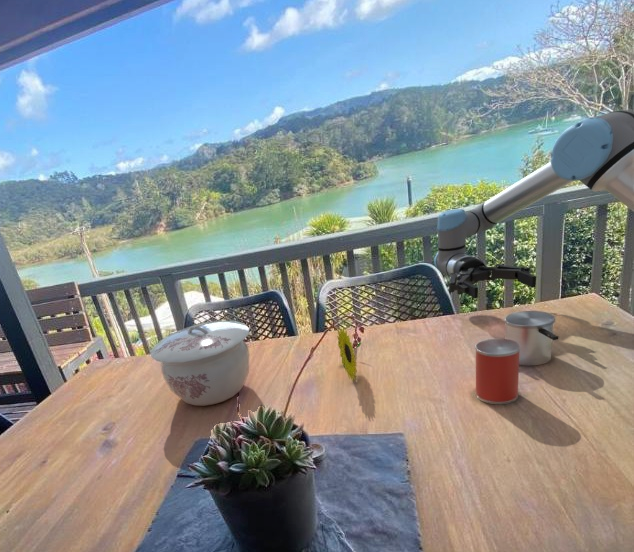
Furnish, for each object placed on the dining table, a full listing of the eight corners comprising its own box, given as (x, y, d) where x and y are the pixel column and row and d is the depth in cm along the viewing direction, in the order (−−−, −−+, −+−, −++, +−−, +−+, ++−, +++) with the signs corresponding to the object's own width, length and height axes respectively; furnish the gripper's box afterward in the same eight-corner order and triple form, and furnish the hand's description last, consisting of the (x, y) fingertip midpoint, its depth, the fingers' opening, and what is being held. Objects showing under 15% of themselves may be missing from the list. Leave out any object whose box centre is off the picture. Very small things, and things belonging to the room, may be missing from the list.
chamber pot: (265, 407, 110) (248, 331, 102) (160, 428, 112) (136, 355, 104) (257, 363, 135) (244, 300, 127) (172, 381, 137) (154, 320, 130)
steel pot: (536, 346, 107) (538, 307, 103) (576, 370, 94) (580, 327, 90) (496, 353, 108) (496, 315, 105) (530, 378, 95) (532, 336, 92)
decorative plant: (343, 322, 132) (315, 332, 106) (362, 317, 129) (338, 326, 103) (355, 369, 133) (330, 390, 106) (374, 365, 130) (354, 386, 104)
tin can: (505, 383, 95) (506, 335, 91) (526, 400, 88) (528, 349, 84) (469, 389, 96) (468, 342, 92) (486, 407, 89) (486, 357, 85)
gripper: (510, 272, 127) (557, 291, 107) (422, 290, 130) (453, 311, 111) (511, 247, 124) (560, 262, 105) (421, 265, 127) (452, 283, 108)
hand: (505, 287), depth 108 cm, fingers open, 13 cm apart
